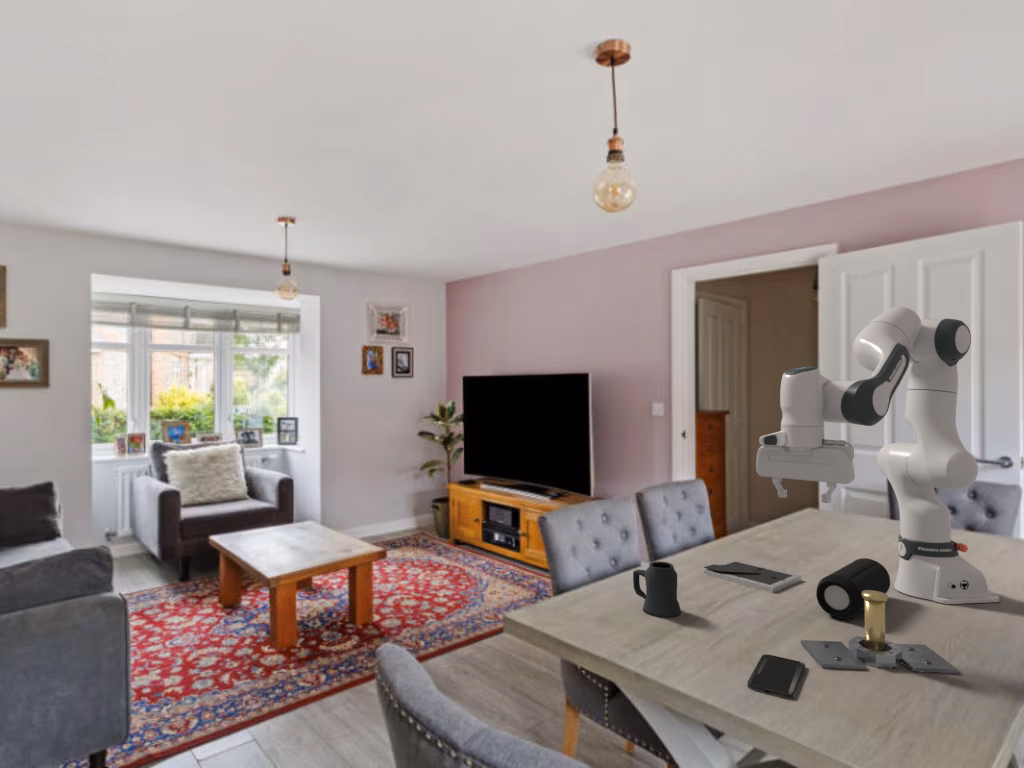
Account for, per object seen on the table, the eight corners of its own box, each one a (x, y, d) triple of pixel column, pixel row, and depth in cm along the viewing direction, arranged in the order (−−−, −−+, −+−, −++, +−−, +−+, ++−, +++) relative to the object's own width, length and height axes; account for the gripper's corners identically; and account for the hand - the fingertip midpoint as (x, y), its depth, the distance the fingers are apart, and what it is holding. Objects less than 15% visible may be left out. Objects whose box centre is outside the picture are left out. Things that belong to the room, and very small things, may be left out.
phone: (806, 663, 116) (792, 695, 104) (806, 668, 116) (792, 702, 104) (762, 653, 121) (745, 683, 108) (762, 658, 121) (745, 689, 108)
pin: (881, 653, 122) (880, 590, 122) (892, 663, 118) (891, 598, 118) (858, 652, 122) (857, 589, 122) (868, 662, 118) (868, 597, 118)
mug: (687, 610, 147) (687, 564, 147) (669, 621, 140) (669, 572, 140) (644, 598, 155) (643, 555, 155) (625, 608, 148) (624, 562, 148)
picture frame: (704, 576, 174) (772, 595, 158) (703, 566, 174) (772, 584, 158) (733, 566, 184) (801, 583, 168) (733, 557, 184) (801, 573, 168)
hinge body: (924, 648, 124) (924, 636, 124) (958, 673, 113) (958, 660, 113) (800, 643, 127) (800, 632, 127) (821, 667, 116) (821, 655, 116)
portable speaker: (851, 590, 160) (851, 552, 160) (894, 599, 153) (893, 560, 153) (812, 614, 143) (812, 572, 143) (858, 626, 136) (857, 582, 136)
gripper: (858, 439, 130) (859, 503, 130) (763, 435, 145) (764, 492, 145) (848, 441, 126) (850, 507, 126) (752, 437, 140) (753, 496, 140)
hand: (803, 499), depth 135 cm, fingers open, 8 cm apart
